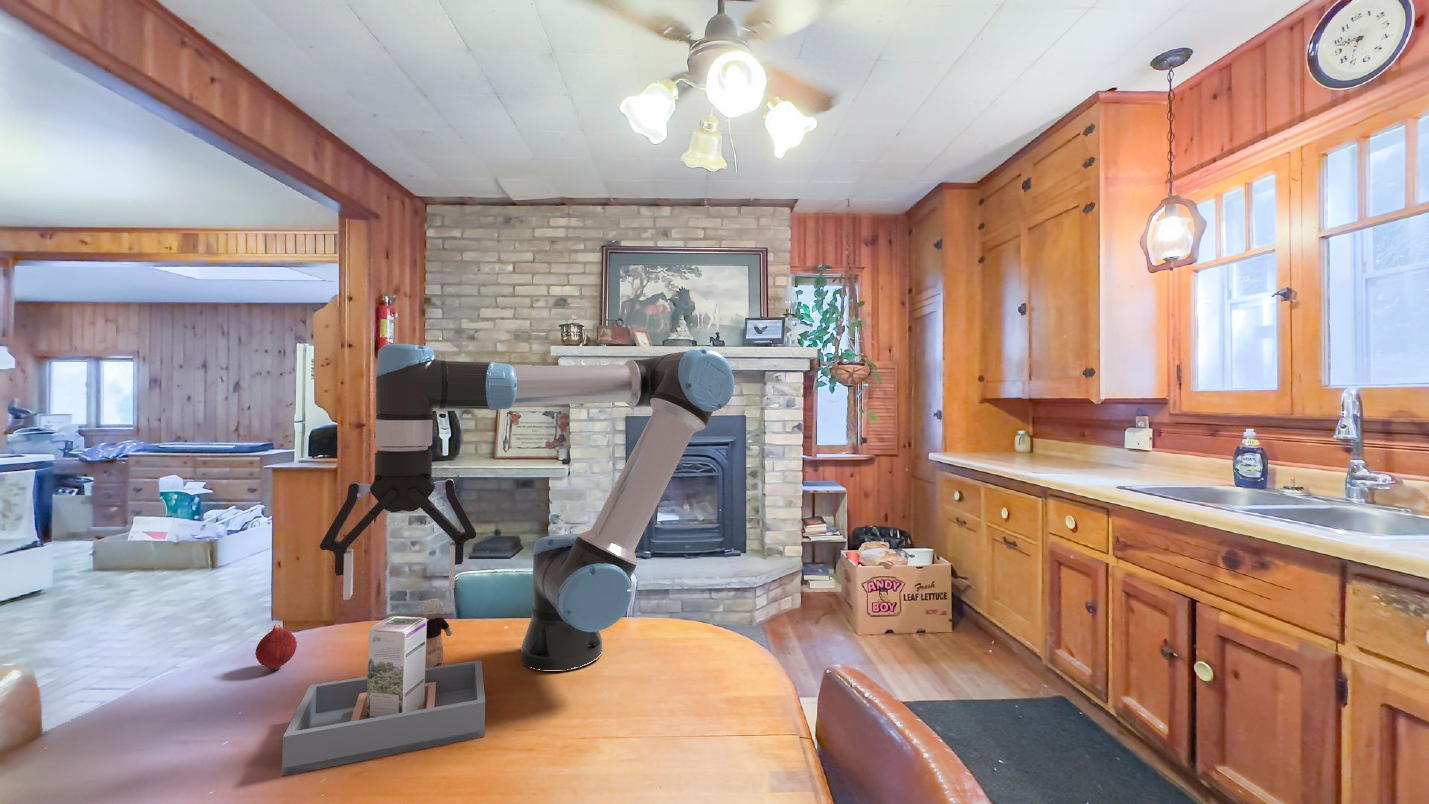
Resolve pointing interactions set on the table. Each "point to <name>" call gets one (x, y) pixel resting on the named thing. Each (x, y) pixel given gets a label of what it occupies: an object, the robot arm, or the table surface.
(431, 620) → the grandmother figurine
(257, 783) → the table surface
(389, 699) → the syrup box
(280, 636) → the onion
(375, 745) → the walled box
